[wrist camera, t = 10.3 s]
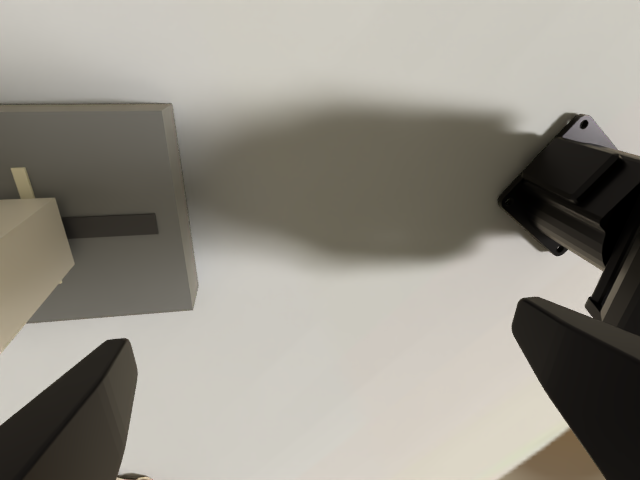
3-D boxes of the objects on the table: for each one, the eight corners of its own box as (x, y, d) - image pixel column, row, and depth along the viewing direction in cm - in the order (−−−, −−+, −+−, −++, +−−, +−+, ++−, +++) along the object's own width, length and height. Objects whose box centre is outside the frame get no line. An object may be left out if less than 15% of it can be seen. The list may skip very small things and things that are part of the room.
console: (172, 103, 18) (161, 111, 16) (198, 285, 23) (192, 311, 20) (-239, 105, 16) (-319, 114, 14) (-121, 308, 20) (-167, 340, 18)
